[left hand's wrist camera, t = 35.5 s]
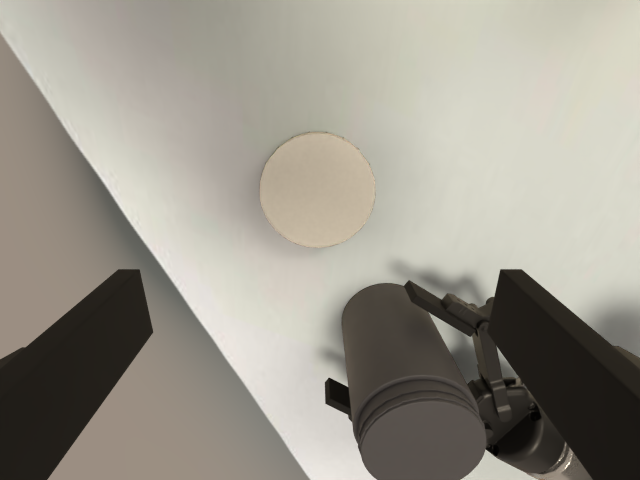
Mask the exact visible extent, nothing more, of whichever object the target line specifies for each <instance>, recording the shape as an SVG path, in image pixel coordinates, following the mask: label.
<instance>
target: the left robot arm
mask: <svg viewBox="0 0 640 480" xmlns="http://www.w3.org/2000/svg"><path fill="white" fill-rule="evenodd" d="M152 333H153V329H152V325H151V320H150V315H149V311H148V306H147V302H146V297H145V292H144V288H143V283H142V279H141V274H140V270H139V269H119V270H117V271H116V272H115V273H114V274H112V275H111V276H110V277H109V278H108V279H107V280H105V281H104V282H103V283H102V284H101V285H99V286H98V287H97V288H96V289H95V290H93V291H92V292H91V293H90V294H89V295H88V296H86V297H85V298H84V299H83V300H82V301H80V302H79V303H78V304H77V305H76V306H74V307H73V308H72V309H71V310H70V311H68V312H67V313H66V314H65V315H64V316H62V317H61V318H60V319H59V320H58V321H57V322H55V323H54V324H53V325H52V326H51V327H49V328H48V329H47V330H46V331H45V332H43V333H42V334H41V335H40V336H39V337H38V338H36V339H35V340H34V341H33V342H32V343H30V344H29V345H28V346H27V347H26V348H20V349H18V350H17V351H15V352H13V353H11V354H9V355H8V356H6V357H4V358H2V359H0V480H47V479H48V478H49V476H50V475H51V474H52V472H53V471H54V470H55V468H56V467H57V465H58V464H59V462H60V461H61V460H62V458H63V457H64V455H65V454H66V453H67V451H68V450H69V449H70V447H71V446H72V444H73V443H74V442H75V440H76V439H77V437H78V436H79V435H80V433H81V432H82V430H83V429H84V428H85V426H86V425H87V424H88V422H89V421H90V419H91V418H92V417H93V415H94V414H95V412H96V411H97V410H98V408H99V407H100V406H101V404H102V403H103V401H104V400H105V399H106V397H107V396H108V394H109V393H110V392H111V390H112V389H113V387H114V386H115V385H116V383H117V382H118V380H119V379H120V378H121V376H122V375H123V373H124V372H125V371H126V369H127V368H128V367H129V365H130V364H131V362H132V361H133V360H134V358H135V357H136V355H137V354H138V353H139V351H140V350H141V348H142V347H143V346H144V344H145V343H146V342H147V340H148V339H149V337H150V336H151V334H152ZM487 333H488V335H489V336H490V337H491V339H492V340H493V342H494V343H495V344H496V346H497V347H498V348H499V350H500V351H501V353H502V354H503V355H504V357H505V358H506V360H507V361H508V362H509V364H510V365H511V367H512V368H513V369H514V371H515V372H516V374H517V375H518V376H519V378H520V379H521V380H522V382H523V383H524V385H525V386H526V387H527V389H528V390H529V392H530V393H531V394H532V396H533V397H534V399H535V400H536V401H537V403H538V404H539V406H540V407H541V408H542V410H543V411H544V412H545V414H546V415H547V417H548V418H549V419H550V421H551V422H552V424H553V425H554V426H555V428H556V429H557V431H558V432H559V433H560V435H561V436H562V438H563V439H564V440H565V442H566V443H567V444H568V446H569V447H570V449H571V450H572V451H573V453H574V454H575V456H576V457H577V458H578V460H579V461H580V463H581V464H582V465H583V467H584V468H585V470H586V471H587V472H588V474H589V475H590V476H591V478H592V479H593V480H640V358H639V357H637V356H635V355H633V354H632V353H630V352H628V351H626V350H624V349H622V348H621V347H619V346H612V345H611V344H610V343H608V342H607V341H606V340H605V339H604V338H603V337H601V336H600V335H599V334H598V333H597V332H595V331H594V330H593V329H592V328H591V327H589V326H588V325H587V324H586V323H585V322H583V321H582V320H581V319H580V318H579V317H578V316H576V315H575V314H574V313H573V312H572V311H570V310H569V309H568V308H567V307H566V306H564V305H563V304H562V303H561V302H560V301H558V300H557V299H556V298H555V297H554V296H553V295H551V294H550V293H549V292H548V291H547V290H545V289H544V288H543V287H542V286H541V285H539V284H538V283H537V282H536V281H535V280H533V279H532V278H531V277H530V276H529V275H528V274H526V273H525V272H524V271H523V270H522V269H500V274H499V279H498V283H497V288H496V292H495V297H494V302H493V306H492V311H491V315H490V320H489V324H488V329H487Z"/></svg>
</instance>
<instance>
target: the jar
mask: <svg viewBox="0 0 640 480" xmlns="http://www.w3.org/2000/svg"><path fill="white" fill-rule="evenodd" d="M342 331H343V340H344V350H345V359H346V368H347V377H348V387H349V396H350V405H351V414H352V424H353V432H354V436H355V439H356V441H357V443H358V448H359V451H360V454H361V457H362V461H363V463H364V465H365V467H366V469H367V470H368V471H369V473H370V474H371V475H372V476H373V477H374V478H376V479H377V480H460V479H462V478H464V477H465V476H466V475H468V474H469V473H470V472H471V471H472V470H473V469H474V468H475V467H476V466H477V465H478V464H479V462H480V461H481V459H482V457H483V455H484V452H485V449H486V431H485V425H484V423H483V422H482V420H481V417H480V415H479V409H478V405H477V403H476V401H475V399H474V397H473V395H472V393H471V391H470V389H469V387H468V385H467V384H466V382H465V380H464V378H463V376H462V374H461V372H460V371H459V369H458V367H457V365H456V363H455V361H454V359H453V358H452V356H451V354H450V352H449V350H448V348H447V346H446V344H445V343H444V341H443V339H442V337H441V335H440V333H439V331H438V330H437V328H436V326H435V324H434V322H433V320H432V318H431V316H430V315H429V313H428V311H426V310H424V309H422V308H421V307H419V306H417V305H416V304H414V303H412V302H411V300H410V298H409V296H408V294H407V292H406V290H405V288H404V286H401V285H397V284H388V283H385V284H377V285H373V286H370V287H367V288H365V289H363V290H361V291H360V292H358V293H357V294H356V295H355V296H354V297H353V298H352V299H351V300H350V301H349V302H348V304H347V305H346V307H345V309H344V312H343V315H342Z"/></svg>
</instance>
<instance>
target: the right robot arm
mask: <svg viewBox="0 0 640 480" xmlns="http://www.w3.org/2000/svg"><path fill="white" fill-rule="evenodd" d="M404 288H405V290H406V292H407V294H408V296H409V298H410V300H411V302H412V303H414V304H416V305H417V306H419V307H421V308H422V309H424V310H426V311H428V312H429V313H431V314H433V315H434V316H436V317H438V318H439V319H441V320H443V321H444V322H446V323H448V324H450V325H451V326H453V327H455V328H456V329H458V330H460V331H461V332H463V333H465V334H466V335H468V336H470V337H471V336H472V338H473V342H474V347H475V351H476V356H477V360H478V364H477V367H478V371H479V376H480V379H478V380H476V381H473V380H472V381H471V382H470V383H469V384H468V387H469V389H470V391H471V393H472V395H473V397H474V399H475V401H476V403H477V405H478V409H479V415H480V417H481V420H482V422H483V423H484V425H485V431H486V450H487V451H489V452H490V453H491V454H492V455H494V456H495V457H496V458H498V459H500V460H502V461H504V462H506V463H507V464H509V465H511V466H513V467H515V468H517V469H519V470H521V471H524V472H525V473H527V474H528V475H530V476H532V477H534V478H536V479H538V480H593V479H592V478H591V476H590V475H589V474H588V472H587V471H586V470H585V468H584V467H583V465H582V464H581V463H580V461H579V460H578V458H577V457H576V456H575V454H574V453H573V451H572V450H571V449H570V447H569V446H568V444H567V443H566V442H565V440H564V439H563V438H562V436H561V435H560V433H559V432H558V431H557V429H556V428H555V426H554V425H553V424H552V422H551V421H550V419H549V418H548V417H547V415H546V414H545V412H544V411H543V410H542V408H541V407H540V406H539V404H538V403H537V401H536V400H535V399H534V397H533V396H532V394H531V393H530V392H529V390H528V389H527V387H526V386H525V385H524V383H523V382H522V380H521V379H520V378H519V377H518V378H517V379H516V378H513V377H506V378H502V374H501V368H500V363H499V358H498V353H497V347H496V344H495V343H494V342H493V340H492V339H491V337H490V336H489V335H488V333H487V329H488V324H489V320H490V315H491V311H492V306H493V302H494V297H491V298H489V299H488V300H487V301H486V305H484V306H482V307H480V308H478V307H477V306H476V305H475V304H472V303H471V304H468V303H466V302H464V301H463V300H461V299H459V298H458V297H456V296H455V295H452V294H447V295H446V296H445V297H444V298H443V299H442V300H441V299H439V298H438V297H436V296H434V295H433V294H431V293H429V292H428V291H426V290H425V289H423V288H421V287H420V286H418V285H416V284H415V283H413V282H411V281H410V280H409V281H408V282H407V283H406V284H405V286H404ZM325 401H326V404H327V405H329V406H331V407H333V408H335V409H337V410H340V411H342V412H344V413H346V414H348V416H349V419H350V420H351V421H352V414H351V405H350V396H349V387H347V386H345V385H343V384H341V383H339V382H337V381H335V380H333V379H331V378H328V380H327V381H326V382H325Z"/></svg>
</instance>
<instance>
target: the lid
mask: <svg viewBox="0 0 640 480" xmlns="http://www.w3.org/2000/svg"><path fill="white" fill-rule="evenodd" d="M369 165H370V164H369V163H368V162H367V161H366V159H365V158H364V156H363V155H362V154H361V153H360V151H359V149H358V148H356V147H354V146H353V145H352V144H351V143H350V142H348V141H347V140H345V139H344V138H341V137H339V136H336V135H334V134H330V133H328V132H326V133H324V132H308V133H305V134H301V135H298V136H296V137H292V138H291V139H290V140H288V141H287V142H285V143H284V144H283V145H281V146H280V147H278V148H277V149H276V151H275V152H274V154H273V155H272V156H271V157H270V159H269V160H268V161H267V162H266V165H265V168H264V170H263V172H262V176H261V179H260V191H259V194H260V201H261V205H262V209H263V211H264V214H265V216H266V218H267V220H268V221H269V223H270V224H271V225H272V227H273V228H274V229H275V230H276V231H277V232H278V233H279V234H281V235H282V236H283V237H284V238H286V239H288V240H289V241H291V242H293V243H296V244H299V245H302V246H306V247H314V248H321V247H329V246H333V245H337V244H339V243H342V242H344V241H346V240H347V239H349V238H351V237H352V236H353V235H354V234H356V233H357V232H358V231H359V230H360V229H361V228H362V227H363V225H364V224H365V223H366V221H367V219H368V218H369V216H370V214H371V211H372V209H373V205H374V201H375V180H374V177H373V173H372V170H371V168H370V166H369Z"/></svg>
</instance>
